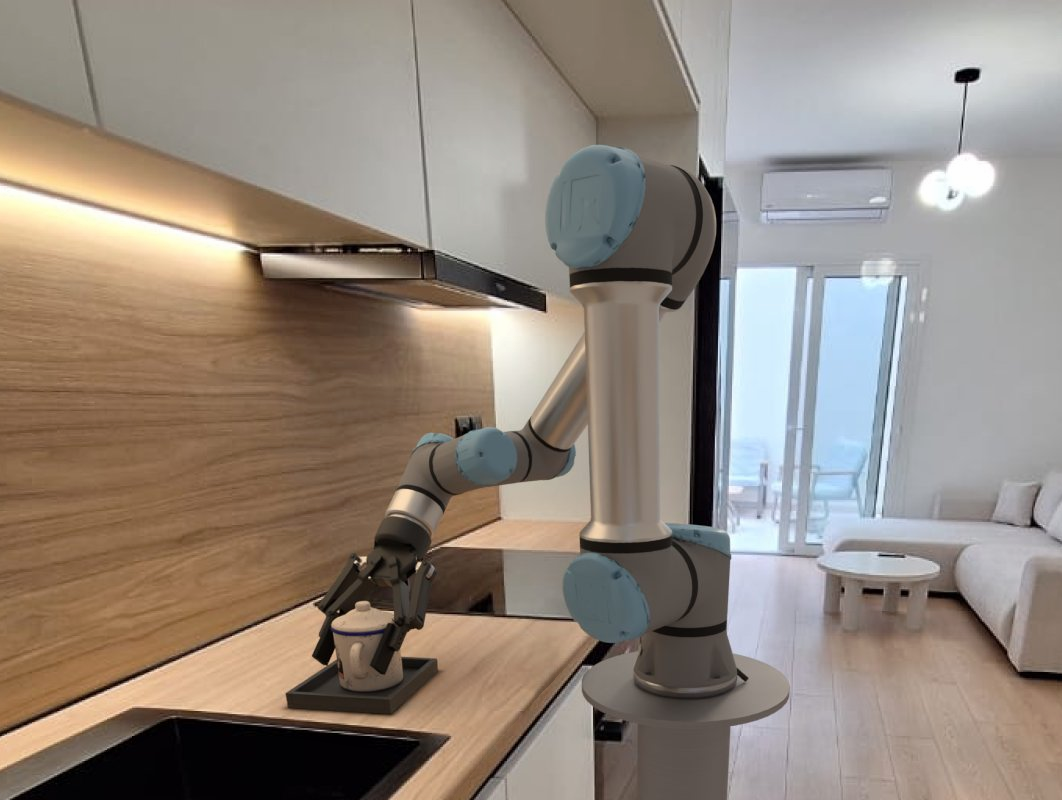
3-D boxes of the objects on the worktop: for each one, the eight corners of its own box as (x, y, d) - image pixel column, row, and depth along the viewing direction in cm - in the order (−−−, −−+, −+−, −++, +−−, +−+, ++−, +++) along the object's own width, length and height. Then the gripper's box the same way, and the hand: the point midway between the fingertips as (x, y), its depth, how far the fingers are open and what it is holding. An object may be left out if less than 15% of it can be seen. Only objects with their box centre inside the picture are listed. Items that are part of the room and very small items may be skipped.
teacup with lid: (348, 671, 119) (338, 594, 115) (410, 670, 120) (402, 593, 115) (324, 702, 108) (311, 618, 104) (393, 700, 108) (383, 617, 104)
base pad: (438, 671, 121) (437, 658, 120) (391, 714, 106) (389, 699, 105) (346, 666, 123) (345, 653, 122) (287, 707, 108) (285, 693, 107)
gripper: (483, 549, 118) (428, 688, 109) (361, 538, 125) (301, 667, 117) (460, 518, 111) (400, 663, 103) (333, 509, 119) (268, 643, 110)
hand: (348, 665), depth 110 cm, fingers closed on teacup with lid, 9 cm apart
